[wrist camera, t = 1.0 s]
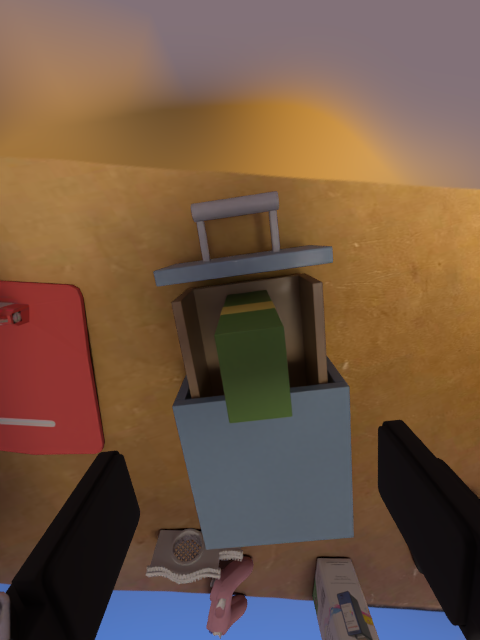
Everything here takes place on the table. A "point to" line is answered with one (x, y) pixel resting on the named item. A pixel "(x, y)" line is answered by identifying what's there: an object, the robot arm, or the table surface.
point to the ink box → (341, 602)
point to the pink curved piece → (228, 596)
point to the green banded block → (253, 358)
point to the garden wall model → (187, 570)
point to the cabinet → (270, 467)
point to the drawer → (207, 302)
